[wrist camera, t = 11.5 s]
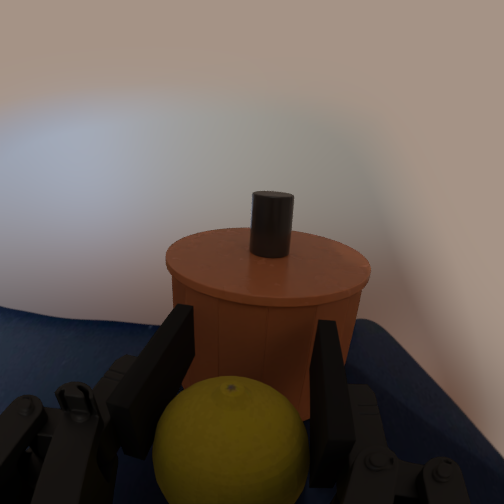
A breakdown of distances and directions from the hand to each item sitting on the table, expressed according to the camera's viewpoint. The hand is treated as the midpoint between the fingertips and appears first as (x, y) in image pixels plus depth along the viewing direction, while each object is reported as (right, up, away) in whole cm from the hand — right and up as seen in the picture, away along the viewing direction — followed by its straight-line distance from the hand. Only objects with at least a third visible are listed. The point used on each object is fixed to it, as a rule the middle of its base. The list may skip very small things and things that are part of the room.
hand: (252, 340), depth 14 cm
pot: (+1, -5, +8) cm, 9 cm away
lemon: (-1, -8, -3) cm, 8 cm away
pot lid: (+1, +3, +6) cm, 7 cm away
